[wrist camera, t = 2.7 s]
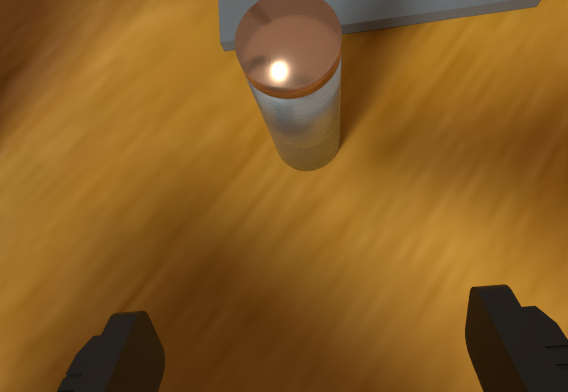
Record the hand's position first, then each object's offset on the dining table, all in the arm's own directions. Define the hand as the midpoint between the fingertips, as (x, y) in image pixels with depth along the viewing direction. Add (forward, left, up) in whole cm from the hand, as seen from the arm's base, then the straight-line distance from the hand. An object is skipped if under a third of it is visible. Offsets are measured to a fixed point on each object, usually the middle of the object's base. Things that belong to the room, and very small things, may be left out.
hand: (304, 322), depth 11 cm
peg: (0, +10, -14) cm, 17 cm away
